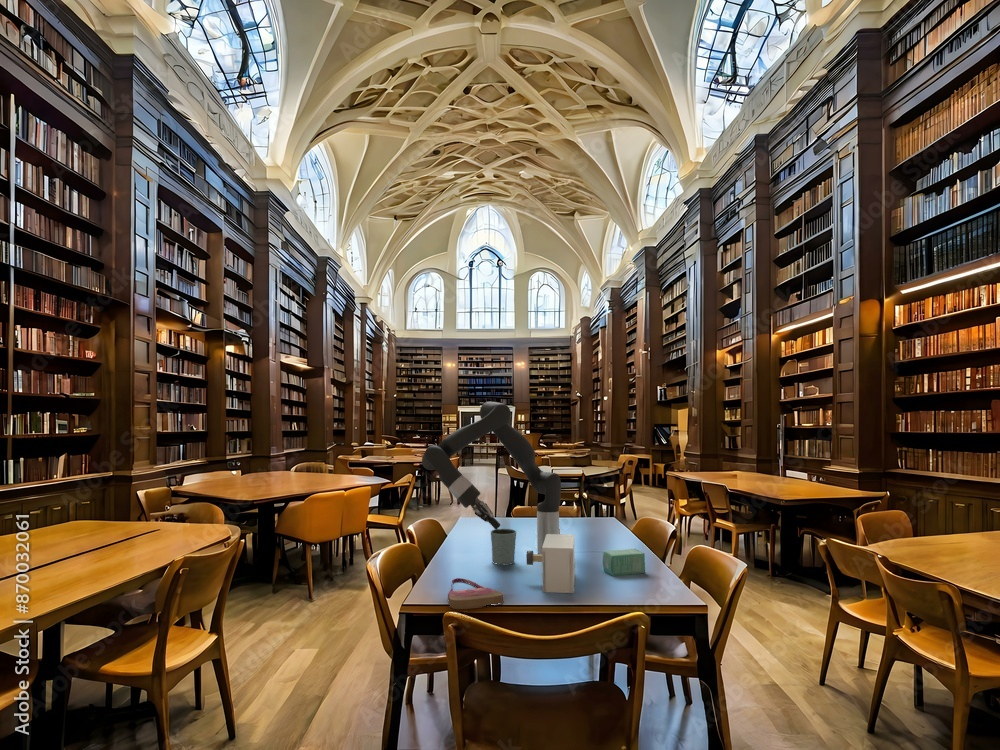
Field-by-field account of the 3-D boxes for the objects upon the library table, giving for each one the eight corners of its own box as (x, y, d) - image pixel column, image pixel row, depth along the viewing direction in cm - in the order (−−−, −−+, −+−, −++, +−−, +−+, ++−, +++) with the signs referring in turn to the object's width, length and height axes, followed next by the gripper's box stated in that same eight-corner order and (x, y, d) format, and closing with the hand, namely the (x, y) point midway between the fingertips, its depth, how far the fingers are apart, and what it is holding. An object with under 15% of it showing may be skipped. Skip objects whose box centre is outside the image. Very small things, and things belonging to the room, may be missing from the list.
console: (546, 573, 201) (546, 533, 202) (574, 574, 199) (574, 534, 200) (542, 591, 179) (542, 547, 180) (573, 593, 177) (573, 548, 179)
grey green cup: (507, 558, 224) (507, 527, 225) (521, 563, 215) (521, 531, 216) (485, 561, 218) (485, 530, 219) (499, 567, 210) (499, 534, 211)
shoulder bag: (506, 605, 167) (479, 582, 193) (506, 595, 168) (479, 573, 194) (452, 612, 162) (431, 587, 188) (452, 601, 162) (431, 578, 188)
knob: (527, 562, 193) (527, 549, 194) (550, 563, 192) (550, 550, 193) (526, 566, 189) (526, 552, 189) (550, 567, 188) (549, 553, 188)
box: (602, 571, 204) (602, 550, 205) (635, 568, 208) (635, 548, 208) (611, 576, 197) (611, 555, 197) (645, 573, 200) (645, 552, 201)
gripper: (467, 485, 190) (503, 523, 187) (475, 481, 203) (508, 516, 200) (452, 501, 190) (487, 538, 187) (461, 496, 203) (494, 531, 200)
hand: (498, 527), depth 194 cm, fingers closed
